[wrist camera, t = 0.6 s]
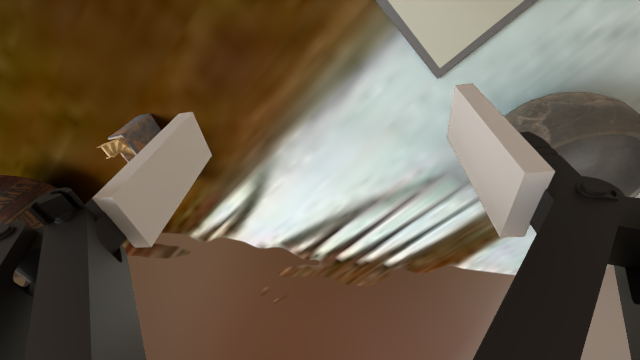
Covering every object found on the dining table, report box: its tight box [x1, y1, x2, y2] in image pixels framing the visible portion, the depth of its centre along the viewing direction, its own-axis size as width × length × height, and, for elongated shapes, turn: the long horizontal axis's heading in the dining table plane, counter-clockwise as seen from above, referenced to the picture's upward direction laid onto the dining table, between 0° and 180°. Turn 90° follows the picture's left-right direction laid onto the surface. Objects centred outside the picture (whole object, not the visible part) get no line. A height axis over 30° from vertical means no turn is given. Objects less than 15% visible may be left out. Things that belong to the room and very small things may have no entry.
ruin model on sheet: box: [97, 113, 161, 163], centre depth 47 cm, size 11×3×10 cm, turn 15°
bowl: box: [504, 92, 640, 225], centre depth 38 cm, size 18×18×13 cm
